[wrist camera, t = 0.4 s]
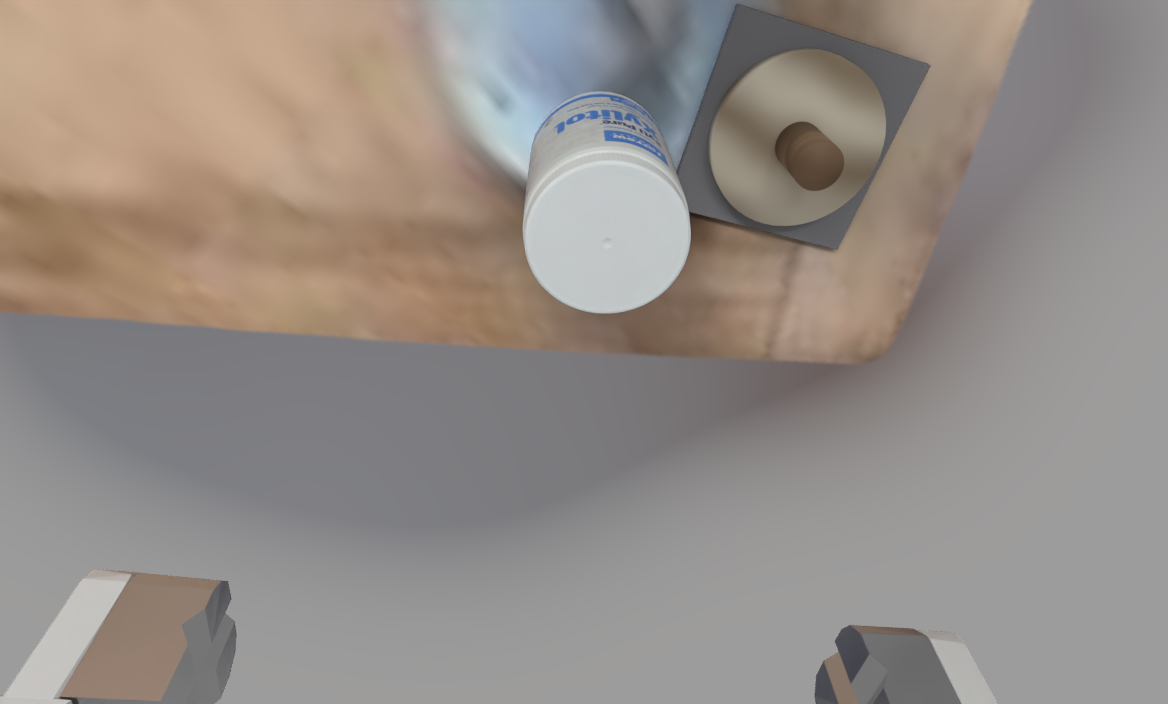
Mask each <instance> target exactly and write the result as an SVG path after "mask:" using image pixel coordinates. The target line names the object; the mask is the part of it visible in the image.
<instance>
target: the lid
mask: <svg viewBox="0 0 1168 704" xmlns="http://www.w3.org/2000/svg"><path fill="white" fill-rule="evenodd" d="M885 134H886V116H885V109H884V105H883V101H882V98H881V96H880V93H879V91H878V89H877V87H876V86H875V84H874V82H873V81H872V80H871V79H870V77H869V76H868V75H867V74H866V73H865V72H864V71H863V70H862V69H860V68H859V67H858V66H857V65H855V64H853V63H852V62H850V61H848V60H847V59H845V58H843V57H842V56H840V55H837V54H835V53H832V52H829V51H825V50H820V49H809V48H806V49H794V50H789V51H785V52H781V53H779V54H776V55H773V56H771V57H769V58H766V59H764V60H762V61H761V62H759V63H757V64H756V65H754V66H753V67H751V68H750V69H749V70H748V71H746V72H745V73H744V74H743V75H741V76H740V77H739V78H738V80H737V81H736V82H735V83H734V84H733V85H732V86H731V87H730V89H729V90H728V91H727V93H726V94H725V95H724V97H723V99H722V100H721V102H720V104H719V105H718V108H717V110H716V112H715V115H714V117H713V120H712V124H711V127H710V132H709V138H708V157H709V163H710V168H711V171H712V174H713V177H714V179H715V181H716V183H717V185H718V187H719V188H720V190H721V192H722V194H723V195H724V197H725V198H726V199H727V201H728V202H729V203H730V204H731V205H732V206H733V207H734V208H735V209H736V210H737V211H739V212H740V213H742V214H743V215H745V216H746V217H748V218H750V219H752V220H754V221H757V222H760V223H763V224H769V225H774V226H793V225H799V224H805V223H808V222H812V221H815V220H817V219H820V218H822V217H824V216H827V215H828V214H830V213H832V212H834V211H835V210H837V209H838V208H840V207H841V206H843V205H844V204H845V203H847V202H848V201H849V200H850V199H851V198H852V197H853V196H855V194H856V193H857V192H858V191H859V190H860V189H861V188H862V187H863V185H864V184H865V183H866V181H867V180H868V179H869V177H870V176H871V174H872V172H873V170H874V169H875V167H876V165H877V162H878V160H879V158H880V155H881V152H882V149H883V145H884V140H885Z"/></svg>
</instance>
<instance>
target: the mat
mask: <svg viewBox="0 0 1168 704" xmlns="http://www.w3.org/2000/svg"><path fill="white" fill-rule="evenodd" d="M806 48H809V49H820V50H825V51H829V52H832V53H835V54H837V55H840V56H842V57H843V58H845V59H847V60H848V61H850V62H852V63H853V64H855V65H857V66H858V67H859V68H860V69H862V70H863V71H864V72H865V73H866V74H867V75H868V76H869V77H870V79H871V80H872V81H873V82H874V84H875V86H876V87H877V89H878V91H879V93H880V96H881V98H882V101H883V105H884V109H885V116H886V134H885V140H884V145H883V149H882V152H881V155H880V158H879V160H878V162H877V165H876V167H875V169H874V170H873V172H872V174H871V176H870V177H869V179H868V180H867V181H866V183H865V184H864V185H863V187H862V188H861V189H860V190H859V191H858V192H857V193H856V194H855V196H853V197H852V198H851V199H850V200H849V201H848V202H847V203H845V204H844V205H843V206H841V207H840V208H838V209H837V210H835V211H834V212H832V213H830V214H828V215H827V216H824V217H822V218H820V219H817V220H815V221H812V222H808V223H805V224H799V225H793V226H774V225H769V224H763V223H760V222H757V221H754V220H752V219H750V218H748V217H746V216H745V215H743V214H742V213H740V212H739V211H737V210H736V209H735V208H734V207H733V206H732V205H731V204H730V203H729V202H728V201H727V199H726V198H725V197H724V195H723V194H722V192H721V190H720V188H719V187H718V185H717V183H716V181H715V179H714V177H713V174H712V171H711V168H710V163H709V157H708V138H709V132H710V127H711V124H712V120H713V117H714V115H715V112H716V110H717V108H718V105H719V104H720V102H721V100H722V99H723V97H724V95H725V94H726V93H727V91H728V90H729V89H730V87H731V86H732V85H733V84H734V83H735V82H736V81H737V80H738V78H739V77H740V76H741V75H743V74H744V73H745V72H746V71H748V70H749V69H750V68H751V67H753V66H754V65H756V64H757V63H759V62H761V61H762V60H764V59H766V58H769V57H771V56H773V55H776V54H779V53H781V52H785V51H789V50H794V49H806ZM929 68H930V65H928V64H926V63H923V62H920V61H917V60H913V59H910V58H907V57H904V56H901V55H898V54H894V53H891V52H888V51H885V50H882V49H879V48H875V47H872V46H869V45H866V44H863V43H859V42H856V41H853V40H850V39H847V38H844V37H840V36H837V35H834V34H831V33H828V32H825V31H821V30H818V29H815V28H812V27H809V26H806V25H802V24H799V23H796V22H793V21H790V20H787V19H783V18H780V17H777V16H774V15H771V14H768V13H764V12H761V11H758V10H755V9H752V8H749V7H745V6H742V5H739V4H736V7H735V10H734V13H733V15H732V18H731V21H730V24H729V27H728V29H727V32H726V35H725V38H724V41H723V43H722V46H721V49H720V52H719V55H718V57H717V60H716V63H715V66H714V69H713V71H712V74H711V77H710V80H709V83H708V86H707V88H706V91H705V94H704V97H703V100H702V102H701V105H700V108H699V111H698V114H697V116H696V119H695V122H694V125H693V128H692V130H691V133H690V136H689V139H688V142H687V144H686V147H685V150H684V153H683V156H682V158H681V161H680V164H679V167H678V170H677V172H676V173H677V176H678V179H679V181H680V184H681V187H682V189H683V192H684V195H685V198H686V201H687V205H688V210H689V212H692V213H696V214H700V215H704V216H708V217H712V218H716V219H719V220H723V221H727V222H731V223H735V224H739V225H743V226H747V227H751V228H755V229H758V230H762V231H766V232H770V233H774V234H778V235H782V236H786V237H790V238H794V239H797V240H801V241H805V242H809V243H813V244H817V245H821V246H825V247H829V248H833V249H836V250H837V249H838V247H839V245H840V243H841V241H842V239H843V237H844V235H845V233H846V231H847V229H848V227H849V225H850V224H851V222H852V220H853V218H854V216H855V214H856V212H857V210H858V208H859V206H860V204H861V202H862V200H863V198H864V196H865V194H866V192H867V190H868V188H869V186H870V184H871V182H872V180H873V178H874V176H875V174H876V172H877V170H878V168H879V166H880V164H881V162H882V160H883V158H884V156H885V155H886V153H887V151H888V149H889V147H890V145H891V143H892V141H893V139H894V137H895V135H896V133H897V131H898V129H899V127H900V125H901V123H902V121H903V119H904V117H905V115H906V113H907V111H908V109H909V107H910V105H911V103H912V101H913V99H914V97H915V95H916V93H917V91H918V89H919V88H920V86H921V84H922V82H923V80H924V78H925V76H926V74H927V72H928V70H929Z"/></svg>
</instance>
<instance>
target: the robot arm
mask: <svg viewBox="0 0 1168 704" xmlns="http://www.w3.org/2000/svg"><path fill="white" fill-rule="evenodd" d="M230 601H231V594H230V589H229V584H228V581H221V580H210V579H200V578H188V577H179V576H168V575H157V574H147V573H137V572H126V571H113V570H100V569H94V570H93V571H92V572H91V573H89V574H88V575H87V576H86V577H84V578H83V579H82V580H81V581H80V582H79V584H78V585H77V587H76V588H75V589H74V591H73V592H72V594H71V596H70V597H69V598H68V600H67V601H66V603H65V604H64V606H63V607H62V609H61V610H60V612H59V613H58V615H57V616H56V618H55V619H54V621H53V622H52V624H51V625H50V627H49V628H48V630H47V631H46V633H45V634H44V636H43V637H42V639H41V640H40V641H39V643H38V645H37V646H36V647H35V649H34V650H33V652H32V653H31V655H30V656H29V658H28V659H27V661H26V662H25V664H24V665H23V667H22V668H21V670H20V671H19V673H18V674H17V676H16V677H15V679H14V680H13V682H12V683H11V684H10V686H9V687H8V689H7V690H6V692H5V694H4V695H0V704H214V703H216V702H217V701H218V700H219V699H221V697H222V693H223V691H224V689H225V686H226V684H227V681H228V678H229V675H230V672H231V668H232V663H233V659H234V655H235V649H236V627H235V621H234V620H233V619H231V618H230V617H229V616H228V615H227V614H226V613H225V612H226V610H227V608H228V605H229V603H230ZM835 643H836V646H837V648H838V651H839V652H838V653H836V654H834V655H833V656H831V657H829V658H827V659H826V660H824V661H823V663H822V665H821V667H820V669H819V671H818V673H817V675H816V684H815V702H816V704H997V702H996V700H995V698H994V696H993V695H992V693H991V691H990V689H989V687H988V686H987V684H986V682H985V680H984V678H983V676H982V675H981V673H980V671H979V669H978V667H977V666H976V664H975V662H974V660H973V658H972V657H971V655H970V654H969V651H968V649H967V647H966V646H965V644H964V642H963V641H962V640H961V639H960V638H959V637H958V636H957V635H956V634H955V633H951V632H942V631H924V630H915V629H909V628H893V627H873V626H857V625H849V626H847V627H845V628H843V629H841V631H840V633H839V635H838V636H837V638H836V640H835Z"/></svg>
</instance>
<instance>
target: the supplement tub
mask: <svg viewBox="0 0 1168 704" xmlns="http://www.w3.org/2000/svg"><path fill="white" fill-rule="evenodd" d="M523 240H524V245H525V252H526V257H527V260H528V263H529V266H530V268H531V270H532V272H533V274H534V276H535V277H536V279H537V280H538V282H539V283H540V284H541V286H542V287H543V288H544V289H545V290H546V291H547V292H548V293H549V294H551V295H552V296H553V297H554V298H556V299H557V300H559V301H560V302H562V303H564V304H566V305H567V306H570V307H572V308H575V309H578V310H581V311H585V312H590V313H597V314H612V313H621V312H626V311H629V310H633V309H636V308H638V307H641V306H643V305H645V304H647V303H649V302H651V301H652V300H654V299H655V298H657V297H658V296H660V295H661V294H662V293H663V292H665V291H666V290H667V289H668V288H669V287H670V286H671V285H672V283H673V282H674V281H675V279H676V278H677V277H678V275H679V274H680V272H681V270H682V268H683V267H684V264H685V262H686V259H687V256H688V253H689V248H690V241H691V228H690V217H689V210H688V205H687V201H686V198H685V195H684V192H683V189H682V187H681V184H680V181H679V179H678V176H677V173H676V171H675V168H674V165H673V163H672V160H671V157H670V155H669V152H668V150H667V147H666V144H665V142H664V139H663V136H662V134H661V132H660V130H659V127H658V126H657V124H656V122H655V121H654V119H653V118H652V116H651V115H650V114H649V113H648V112H647V111H646V110H645V109H644V108H643V107H642V106H641V105H639V104H638V103H636V102H635V101H633V100H632V99H630V98H628V97H626V96H623V95H620V94H616V93H613V92H605V91H594V92H587V93H583V94H579V95H577V96H574V97H572V98H570V99H568V100H566V101H564V102H562V103H561V104H559V105H558V106H557V107H555V108H554V109H553V110H552V111H551V112H550V113H549V114H548V115H547V116H546V117H545V119H544V120H543V121H542V123H541V124H540V126H539V128H538V130H537V132H536V134H535V137H534V140H533V144H532V149H531V156H530V163H529V172H528V180H527V189H526V197H525V206H524V217H523Z"/></svg>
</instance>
